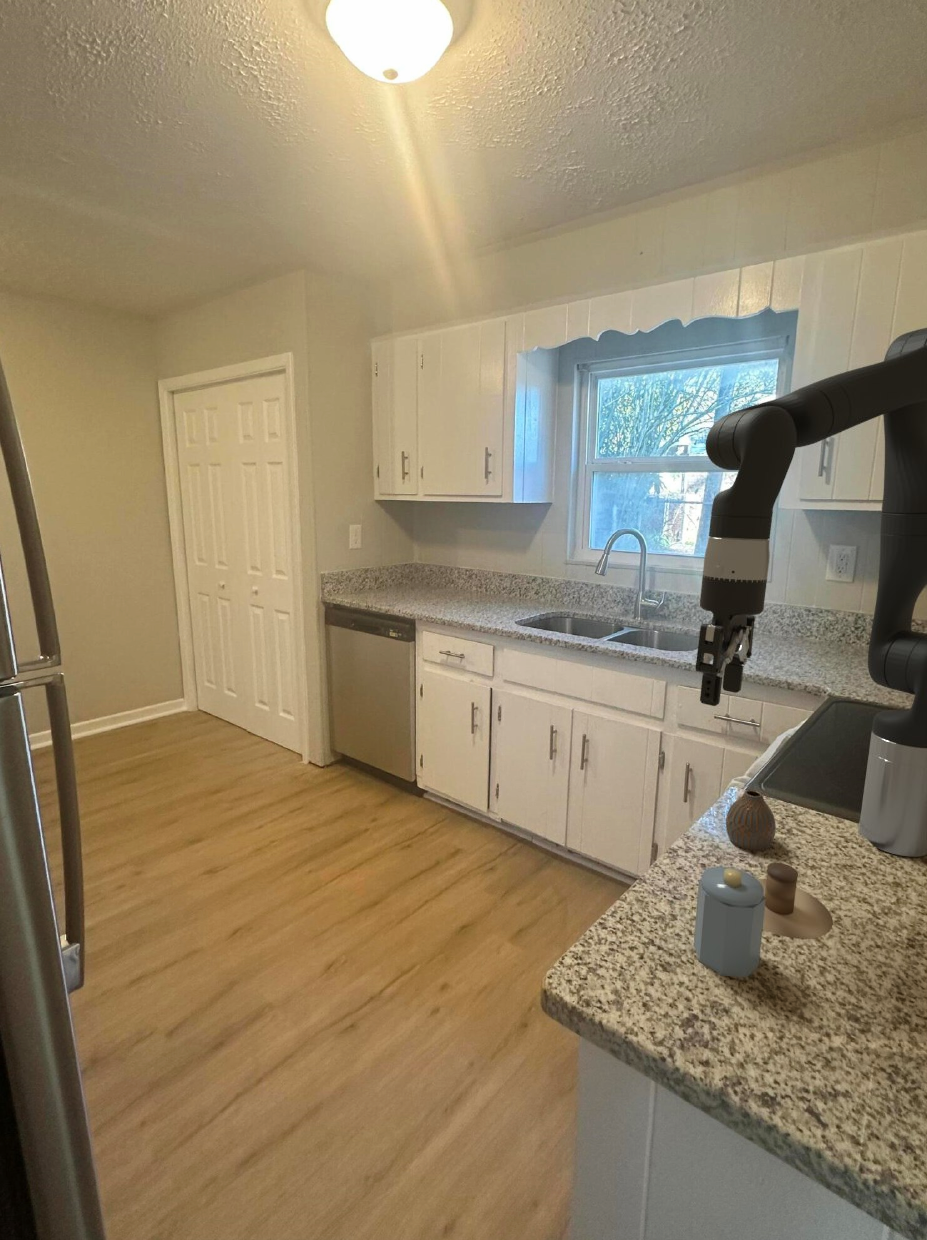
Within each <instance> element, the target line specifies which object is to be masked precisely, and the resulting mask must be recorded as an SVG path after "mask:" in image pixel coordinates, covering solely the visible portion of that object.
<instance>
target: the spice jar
mask: <svg viewBox="0 0 927 1240" xmlns="http://www.w3.org/2000/svg"><path fill="white" fill-rule="evenodd" d="M765 879H766V889H765V898H766V901H765V906H766V907H767V908H768V909H769V910H771V911H772V912H775V913H777V914H782V915H789V914H791V913H793V910H794V902H795V893H796V887H797V884H798V883H797V882H798V880H799V872H798V871H797V870H796V869H795V868H794V867H792V866H791V865H789V864H786V863H782V862H771V863H769V864H767V867H766V878H765Z"/></svg>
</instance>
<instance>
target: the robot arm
mask: <svg viewBox="0 0 927 1240" xmlns="http://www.w3.org/2000/svg"><path fill="white" fill-rule="evenodd" d="M881 416H883V430H884V433H883V434H884V469H883V470H884V471H883V474H884V476H883V495H882V503H881V513H880V515H881V516H880V517H881V518H880V530H879V531H880V532H879V533H880V537H879V538H880V540H879V541H880V543H879V547H880V548H879V567H878V580H877V581H878V582H877V591H876V600H875V607H874V611H873V612H874V613H873V620H872V626H871V632H870V637H869V641H868V651H867V652H868V653H867V668H868V673H869V677H870V678H871V680H872V681H873V682H874V683H875V684H877V685H878V686H881V687H884V688H887V689H890V690H895V691H899V692H903V693H905V694H910V695H914V698H913V702H912V705H911V707H910V708H906V709H905V708H903V709H888V710H887V709H886V710H882V711H878V712H877V713H876V714H875V715H874V717H873V720H872V726H871V735H870V742H869V751H868V757H867V759H868V760H867V764H866V765H867V766H866V773H865V774H866V775H865V781H864V788H863V797H862V803H861V805H862V806H861V809H860V811H861V812H860V818H859V825H858V826H859V827H858V836H863V837H864V838H865V839H866V840H867V841H868V842H869V843H870V844H871V845H872V846H873V847H874V848H876V849H878V850H881V851H882V852H883V851H884V852H887V853H890V854H894V855H898V856H901V857H914V858H915V857H924V856H927V633H926V632H921V631H915V630H912V626H913V623H912V622H913V615H914V610H915V606H916V604H917V601H918V598H919V596H920V595H921V594H922V592H923V590H924V589H925V587H926V586H927V327H925V328H919V329H916V330H912V331H908V332H906V333H904V334H901V335H899V336H898V337H896V339H894V340H893V341H892V342H891V344H890V345H889V347H888V349H887V351H886V353H885V357H884V359H883V361H881V362H876V363H873V364H869V365H866V366H863V367H858V368H856V369H855V368H854V369H852V370H851V369H850V370H847V371H844V372H842V373H838V374H835V375H831V376H829V377H827V378H826V377H825V378H823V379H821V380H818V381H816V382H812V383H810V384H807V385H805V386H803V387H800V388H798V389H796V390H794V391H792V392H790V393H788V394H785V395H783V396H781V397H778V398H775V399H773V400H768V401H765V402H761V403H757V404H754V405H751V406H748V407H745V408H742V409H739V410H738V409H737V410H734V411H733V412H729V413H727V414H726V415H725V414H724V416H722V417H721V418H719V419H718V420H716V421H715V423H714V424H712V426H711V428H710V429H709V431H708V433H707V436H706V439H705V453H706V455H707V457H708V459H709V460H710V462H711V463H712V464H713V465H715V466H717V467H718V468H720V469H723V470H727V471H738V472H737V475H736V477H735V480H734V482H733V484H732V485H731V486H730V487H729V488H727V489H725V490H722V491H720V492H718V493H717V494H716V495H715V496H714V498H713V500H712V506H711V513H710V520H709V521H710V522H709V530H708V531H709V532H708V540H707V545H706V549H705V553H704V560H703V570H702V580H701V589H700V597H699V598H700V599H699V606H700V608H701V610H704V611H706V612H711V613H712V618H711V623H710V624H708V623H702V624H701V626H700V629H699V637H698V646H697V652H696V660H695V668H694V669H695V672H699V673H700V674H701V675H702V678H701V686H700V694H699V695H700V697H699V701H700V703H701V704H703V705H708V706H711V707H717V705H719V704H720V701H721V695H722V694H721V693H722V689H723V690H724V691H726V692H730V693H735V694H736V693H739V692H741V689H742V683H743V675H744V666H745V665H746V664H747V662H748V659H750V658H751V657H752V654H753V653H752V650H753V649H752V648H753V641H754V629H755V623H756V622H755V621H756V618H755V617H756V615H760V614H761V613H763V612H764V607H765V600H766V591H767V584H768V573H769V566H770V538H771V537H770V536H771V530H772V523H773V522H772V521H773V514H774V506H775V503H776V500H777V498H778V496H779V494H780V492H781V489H782V486H783V484H784V482H785V479H786V478H787V477H786V476H787V474H788V472H789V469H790V466H791V464H792V461H793V459H794V455H795V452H796V449H798V448H802V447H808V446H811V445H813V444H817V443H819V442H821V441H824V440H825V439H828V438H830V437H833V436H836V435H838V434H840V433H842V432H844V431H847V430H849V429H852V428H855V426H858V425H861V424H863V423H866V422H868V421H870V420H873V419H875V418H878V417H881ZM711 661H712V663H711Z"/></svg>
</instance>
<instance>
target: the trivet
mask: <svg viewBox="0 0 927 1240" xmlns="http://www.w3.org/2000/svg"><path fill="white" fill-rule="evenodd" d="M756 879H757V880H758V881H759V882H760V883H761V884H762V886H763V889H764V893H763V895H764V897H765V889H766V879H767V878H756ZM832 927H833V916H832V914H831V912H830V911H829V910H828V908H827V907H826V906H825V905H824V904H823V903H822V901H820V900H819V899H818V898H816V897H815V896H813V895H812V894H810V893H809V892H807V891H805V890H804V889H801V888H799V887H797V886H796V893H795V902H794V910H793V913H791V914H789V915H782V914H777V913H775V912H772V911H771V910H769V909H768V908H767V907H766V906H765V911H764V920H763V930H764V931H766V932H768V933H771V934H774V935H778V936H782V937H787V938H791V939H792V938H793V939H801V940H802V939H804V940H805V939H816V938H819V937H822V936H824V935H826V934H827V933H829V931H830V930H831V929H832ZM763 930H762V931H763Z"/></svg>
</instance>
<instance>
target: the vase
mask: <svg viewBox="0 0 927 1240" xmlns="http://www.w3.org/2000/svg"><path fill="white" fill-rule="evenodd" d="M776 828H777V826H776V819H775V816H774V813H773V811H772V809H771V808H770V806H769V805H768V804H767V802H766V801H765V799H764V796H763V794H762V793H761V792H760V791H758V790H754V789H753V790H752V789H747V790H744V792H743V794H742V795H741V796H740V797H739V798H738V799H736V800H734V802H733V803H732V804H731V805H730V806H729V808H728V811H727V813H726V817H725V830H726V834H727V835H728V839H729V840H730V841H731V843H733V844H734V845H735V846H737V847H739V848H741V849H744V850H747V851H753V852H760V851H765V850H767V849H768V848H769V847H770V846H771V845H772V843H773V841H774V839H775V835H776V830H777V829H776Z"/></svg>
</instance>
